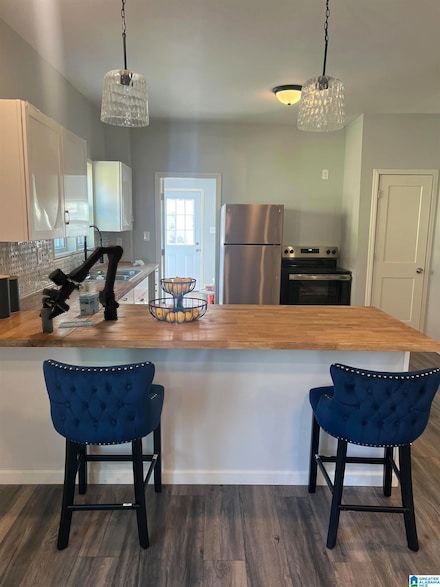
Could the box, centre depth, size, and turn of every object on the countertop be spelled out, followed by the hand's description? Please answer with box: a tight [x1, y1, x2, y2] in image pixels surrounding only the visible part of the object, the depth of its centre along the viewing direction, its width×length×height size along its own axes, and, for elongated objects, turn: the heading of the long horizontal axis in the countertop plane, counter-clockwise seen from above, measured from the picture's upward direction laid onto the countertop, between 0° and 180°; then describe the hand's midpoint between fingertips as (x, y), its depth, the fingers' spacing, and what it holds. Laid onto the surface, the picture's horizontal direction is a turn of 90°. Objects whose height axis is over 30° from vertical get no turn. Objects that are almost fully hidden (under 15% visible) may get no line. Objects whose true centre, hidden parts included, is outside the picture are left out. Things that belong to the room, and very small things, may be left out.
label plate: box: [58, 319, 95, 329], centre depth 210 cm, size 16×10×1 cm, turn 104°
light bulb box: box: [78, 292, 100, 315], centre depth 238 cm, size 11×7×11 cm, turn 168°
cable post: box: [40, 308, 54, 334], centre depth 196 cm, size 5×5×11 cm
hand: (44, 318), depth 195 cm, fingers open, 9 cm apart
